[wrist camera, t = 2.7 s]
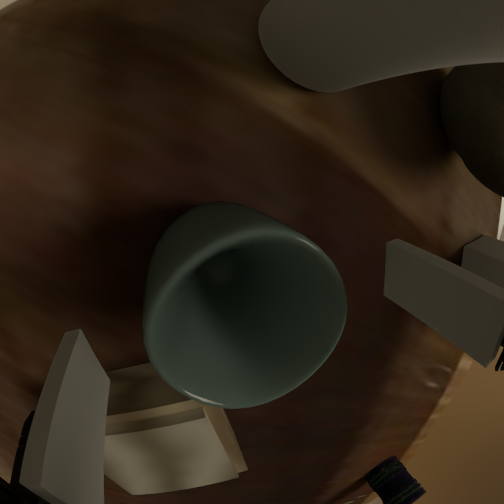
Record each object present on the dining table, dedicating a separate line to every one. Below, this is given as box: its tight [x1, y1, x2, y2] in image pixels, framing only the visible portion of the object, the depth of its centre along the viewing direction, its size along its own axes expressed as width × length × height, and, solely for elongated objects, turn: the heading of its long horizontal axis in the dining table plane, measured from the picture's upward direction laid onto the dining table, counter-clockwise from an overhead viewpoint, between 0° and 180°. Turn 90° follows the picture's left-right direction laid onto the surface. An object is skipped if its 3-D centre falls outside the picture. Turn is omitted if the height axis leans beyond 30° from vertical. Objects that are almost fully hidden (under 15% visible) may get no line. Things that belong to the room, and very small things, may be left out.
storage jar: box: [365, 456, 426, 504], centre depth 41 cm, size 10×10×15 cm
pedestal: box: [104, 362, 248, 495], centre depth 19 cm, size 13×13×6 cm
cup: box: [142, 201, 347, 409], centre depth 14 cm, size 8×8×10 cm
